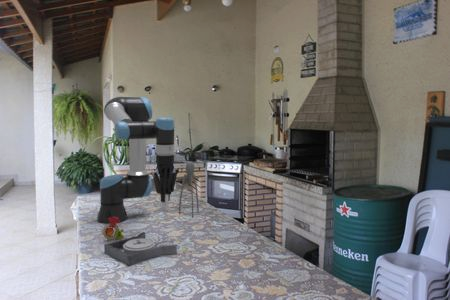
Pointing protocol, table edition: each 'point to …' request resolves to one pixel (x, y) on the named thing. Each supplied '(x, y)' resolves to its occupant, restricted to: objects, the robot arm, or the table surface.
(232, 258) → the table surface
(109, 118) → the robot arm
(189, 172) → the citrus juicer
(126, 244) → the grey pulley wheel
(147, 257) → the steel bracket
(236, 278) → the table surface
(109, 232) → the bird rattle
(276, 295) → the table surface
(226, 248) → the table surface
